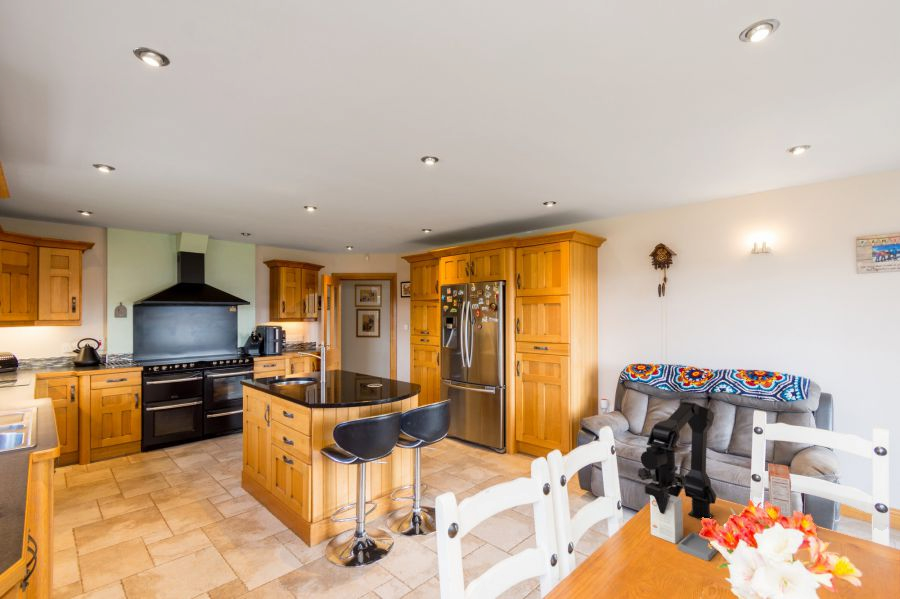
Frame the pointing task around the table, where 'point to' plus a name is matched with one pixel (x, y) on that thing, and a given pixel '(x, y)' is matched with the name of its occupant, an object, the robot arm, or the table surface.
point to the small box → (667, 519)
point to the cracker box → (780, 488)
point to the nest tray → (697, 546)
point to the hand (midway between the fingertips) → (666, 510)
